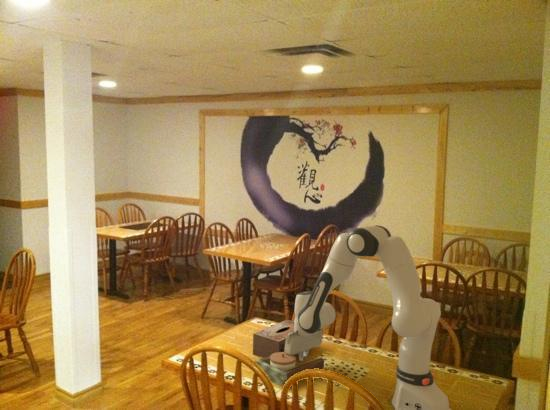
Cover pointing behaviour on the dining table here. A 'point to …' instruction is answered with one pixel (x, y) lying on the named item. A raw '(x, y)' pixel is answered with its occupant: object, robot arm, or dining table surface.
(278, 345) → the tissue box cover
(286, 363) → the lidded jar
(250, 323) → the dining table surface
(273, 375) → the u-shaped frame
